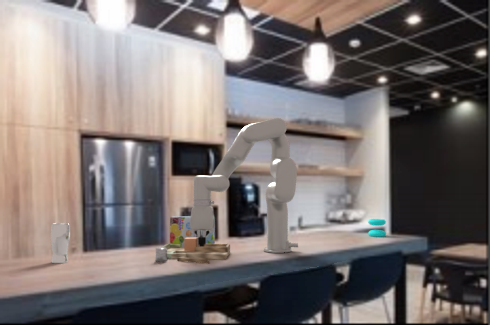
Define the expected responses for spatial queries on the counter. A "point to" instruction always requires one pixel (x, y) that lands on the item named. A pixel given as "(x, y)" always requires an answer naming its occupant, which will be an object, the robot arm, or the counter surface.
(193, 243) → the cube
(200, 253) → the wooden tray
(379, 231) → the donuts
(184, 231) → the snack box
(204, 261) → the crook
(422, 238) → the counter surface
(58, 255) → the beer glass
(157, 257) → the can
